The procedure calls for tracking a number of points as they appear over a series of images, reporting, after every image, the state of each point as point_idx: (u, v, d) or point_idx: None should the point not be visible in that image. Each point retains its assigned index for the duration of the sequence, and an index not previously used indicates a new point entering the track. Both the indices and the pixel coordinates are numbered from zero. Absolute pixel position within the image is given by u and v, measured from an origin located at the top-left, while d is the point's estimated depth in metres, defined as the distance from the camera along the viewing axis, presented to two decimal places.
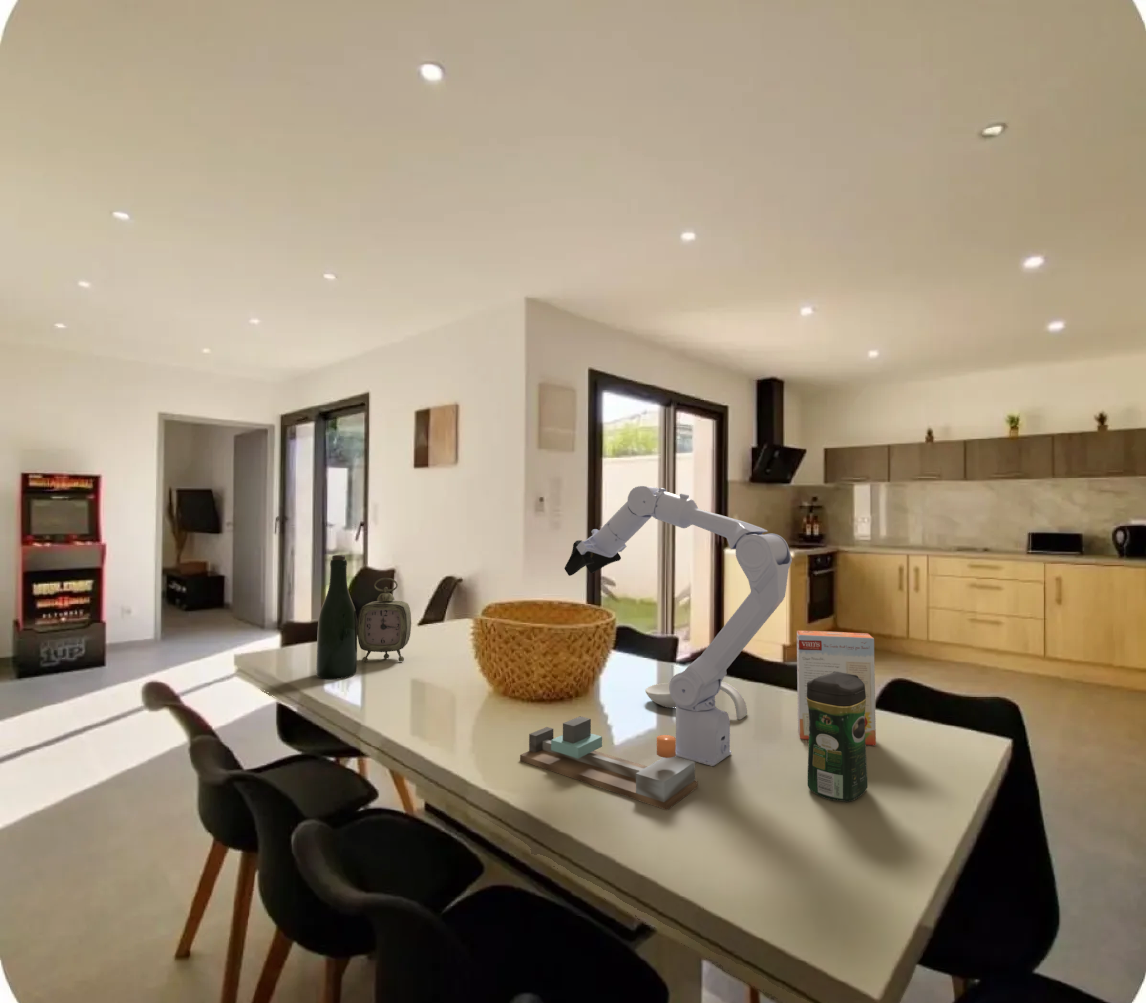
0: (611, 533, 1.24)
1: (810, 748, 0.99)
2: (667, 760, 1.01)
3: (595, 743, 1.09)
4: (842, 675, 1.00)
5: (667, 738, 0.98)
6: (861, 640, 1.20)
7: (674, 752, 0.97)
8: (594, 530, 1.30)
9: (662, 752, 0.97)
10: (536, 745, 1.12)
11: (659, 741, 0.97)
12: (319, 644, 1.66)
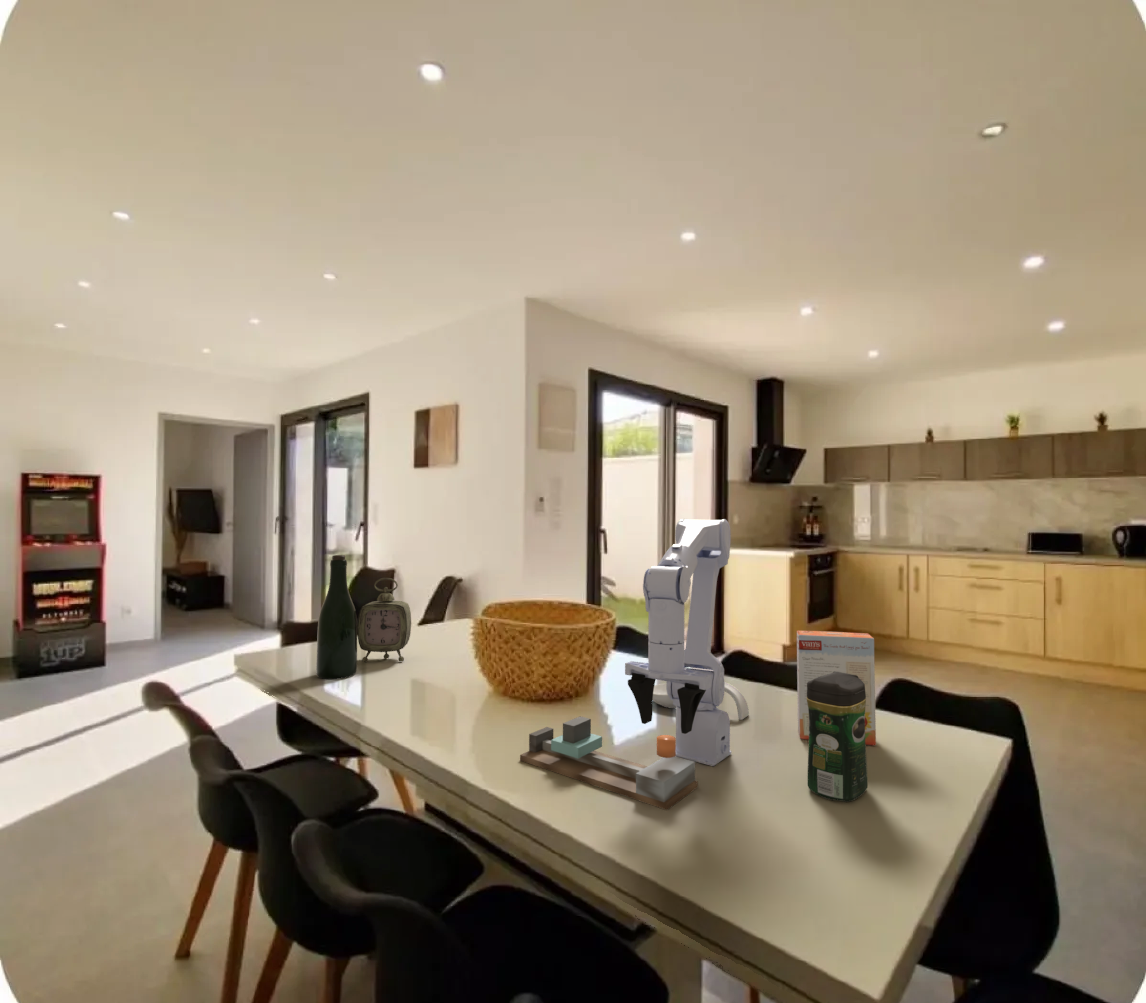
0: (683, 644, 0.97)
1: (810, 748, 0.99)
2: (667, 760, 1.01)
3: (595, 743, 1.09)
4: (842, 675, 1.00)
5: (667, 738, 0.98)
6: (861, 640, 1.20)
7: (674, 752, 0.97)
8: (657, 673, 0.95)
9: (662, 752, 0.97)
10: (536, 745, 1.12)
11: (659, 741, 0.97)
12: (319, 644, 1.66)
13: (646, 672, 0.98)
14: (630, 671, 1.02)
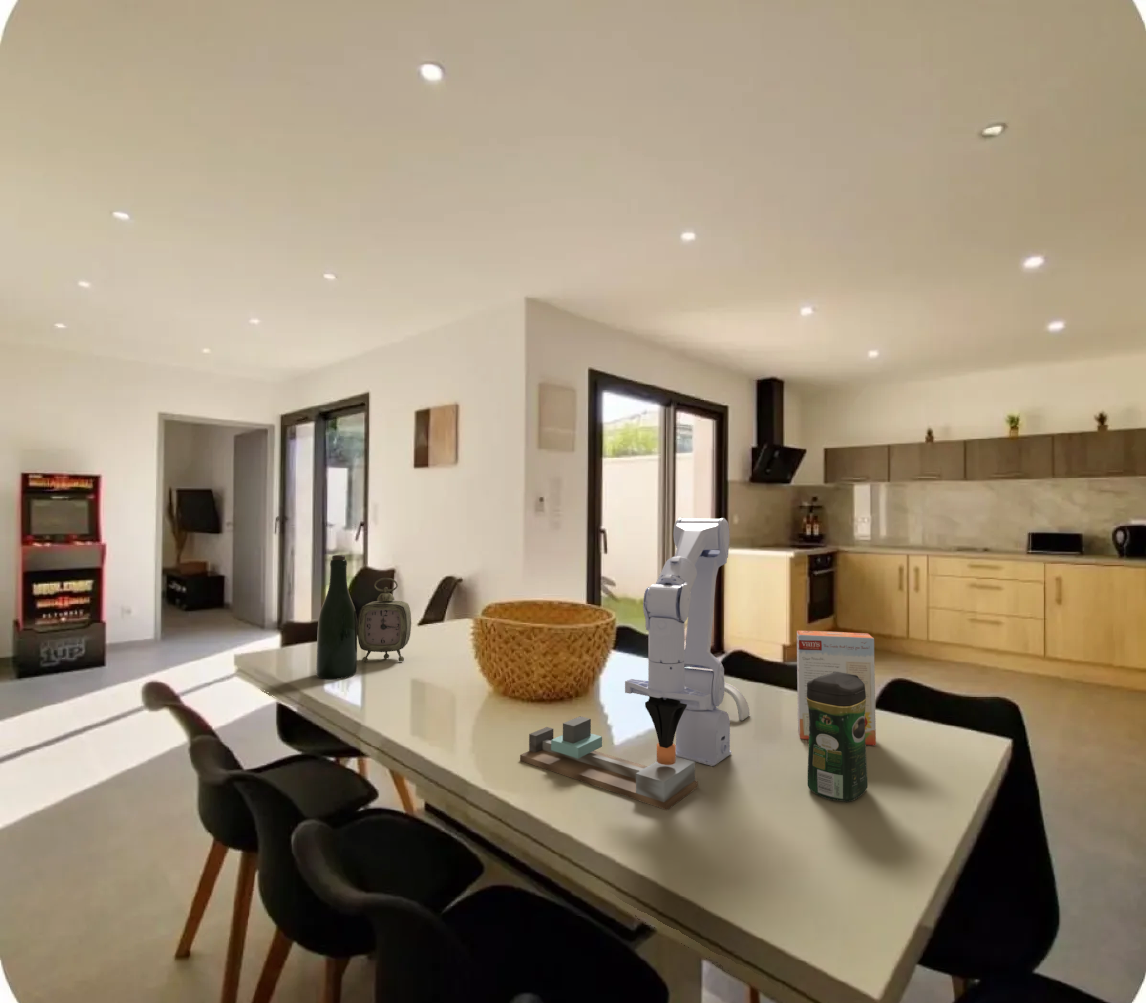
0: (683, 663, 0.97)
1: (810, 748, 0.99)
2: None
3: (595, 743, 1.09)
4: (842, 675, 1.00)
5: None
6: (861, 640, 1.20)
7: (674, 759, 0.97)
8: (657, 693, 0.95)
9: (662, 759, 0.97)
10: (536, 745, 1.12)
11: (659, 748, 0.97)
12: (319, 644, 1.66)
13: (646, 691, 0.98)
14: (630, 689, 1.02)
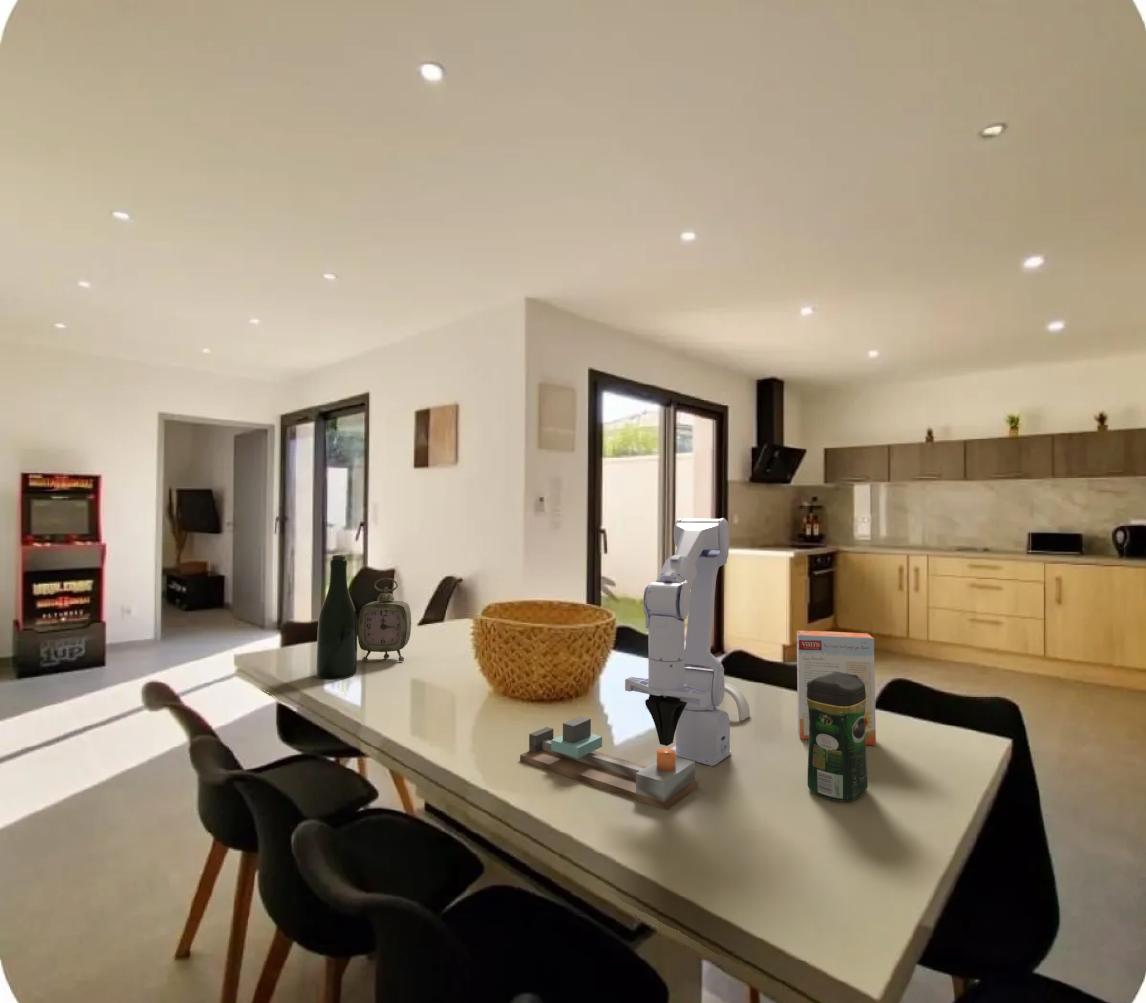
0: (683, 661, 0.97)
1: (810, 748, 0.99)
2: None
3: (595, 743, 1.09)
4: (842, 675, 1.00)
5: (667, 751, 0.98)
6: (861, 640, 1.20)
7: (674, 765, 0.97)
8: (657, 691, 0.95)
9: (662, 766, 0.97)
10: (536, 745, 1.12)
11: (659, 754, 0.97)
12: (319, 644, 1.66)
13: (646, 689, 0.98)
14: (630, 687, 1.02)
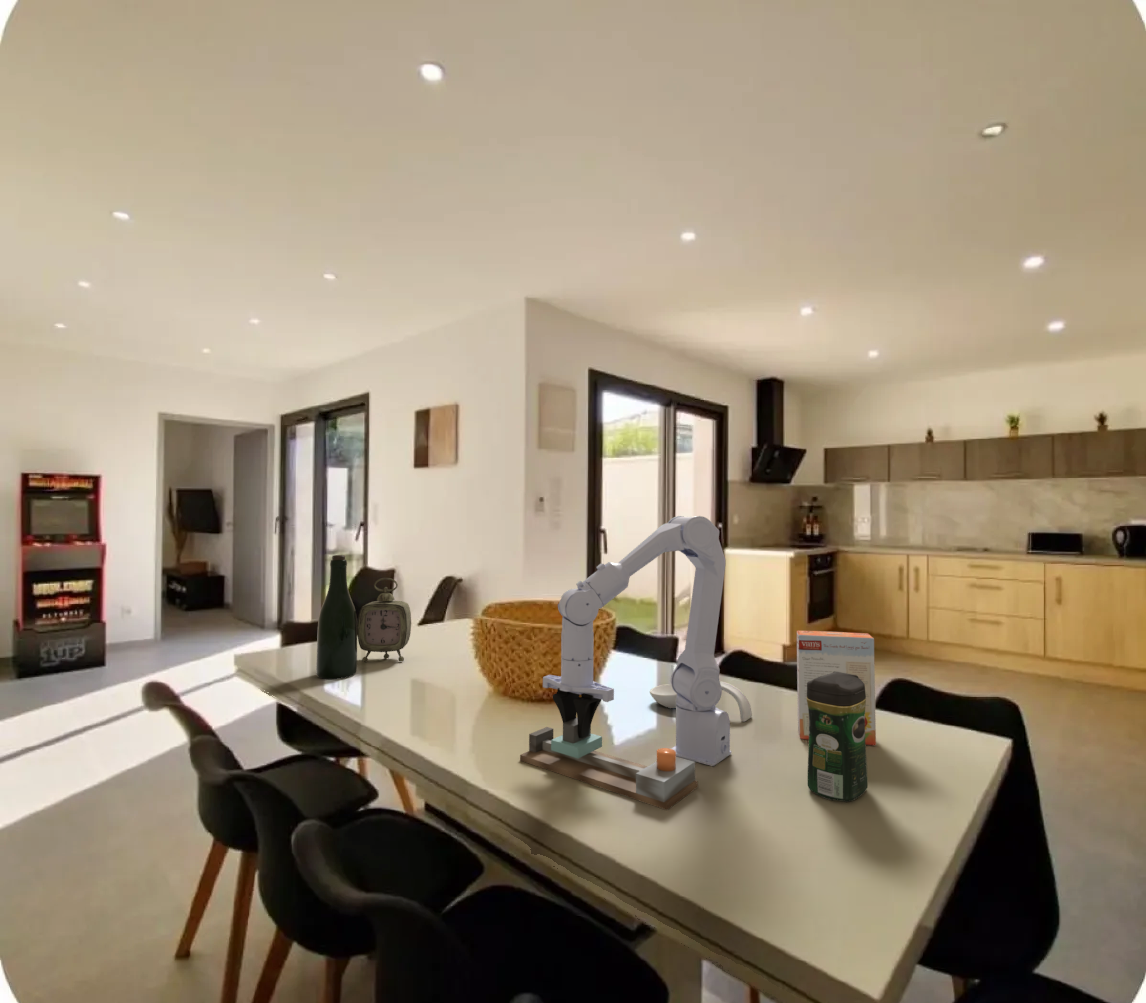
0: (591, 661, 1.08)
1: (810, 748, 0.99)
2: None
3: (595, 743, 1.09)
4: (842, 675, 1.00)
5: (667, 751, 0.98)
6: (861, 640, 1.20)
7: (674, 765, 0.97)
8: (566, 687, 1.06)
9: (662, 766, 0.97)
10: (536, 745, 1.12)
11: (659, 754, 0.97)
12: (319, 644, 1.66)
13: (558, 685, 1.09)
14: (547, 684, 1.13)
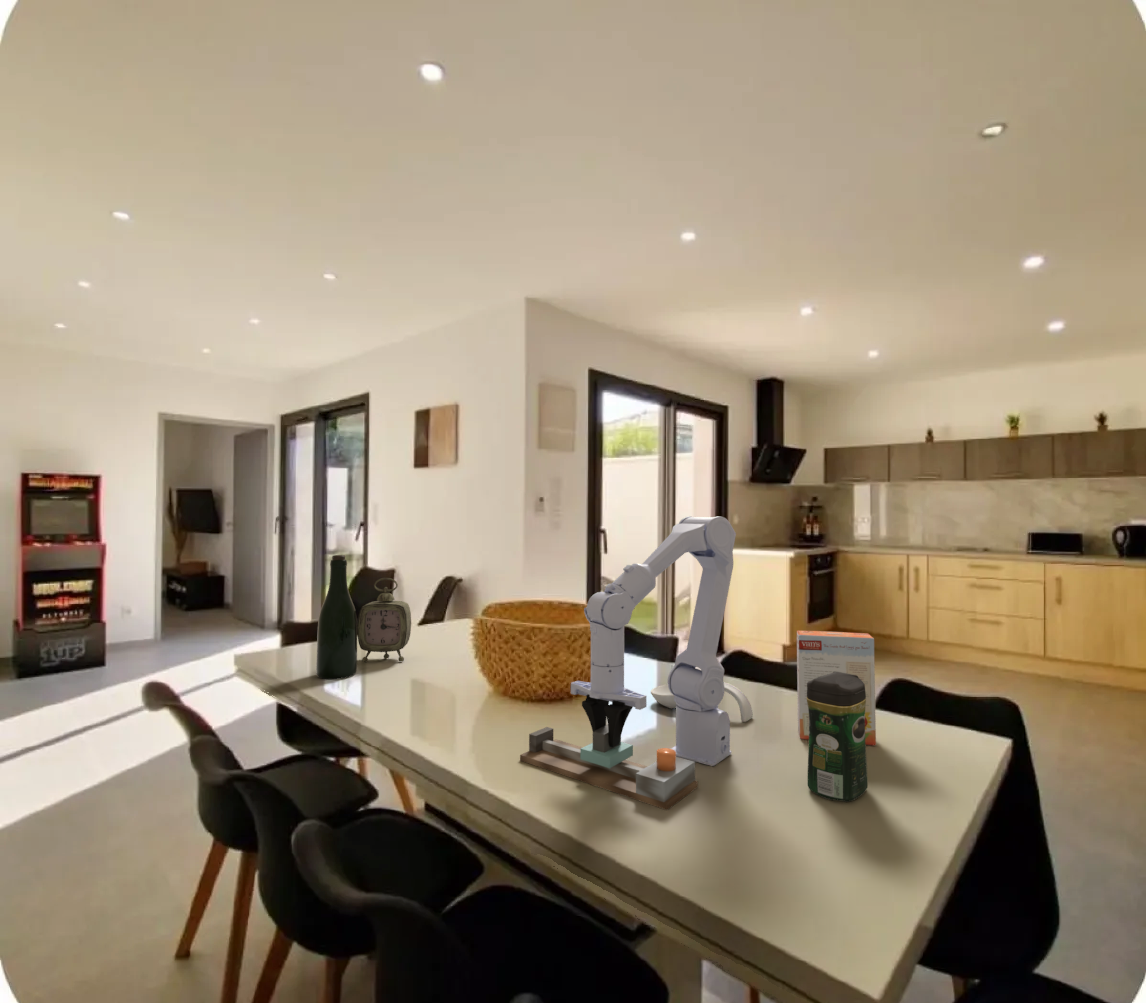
0: (622, 666, 1.04)
1: (810, 748, 0.99)
2: None
3: (626, 752, 1.05)
4: (842, 675, 1.00)
5: (667, 751, 0.98)
6: (861, 640, 1.20)
7: (674, 765, 0.97)
8: (597, 694, 1.02)
9: (662, 766, 0.97)
10: (536, 745, 1.12)
11: (659, 754, 0.97)
12: (319, 644, 1.66)
13: (588, 692, 1.05)
14: (575, 690, 1.09)
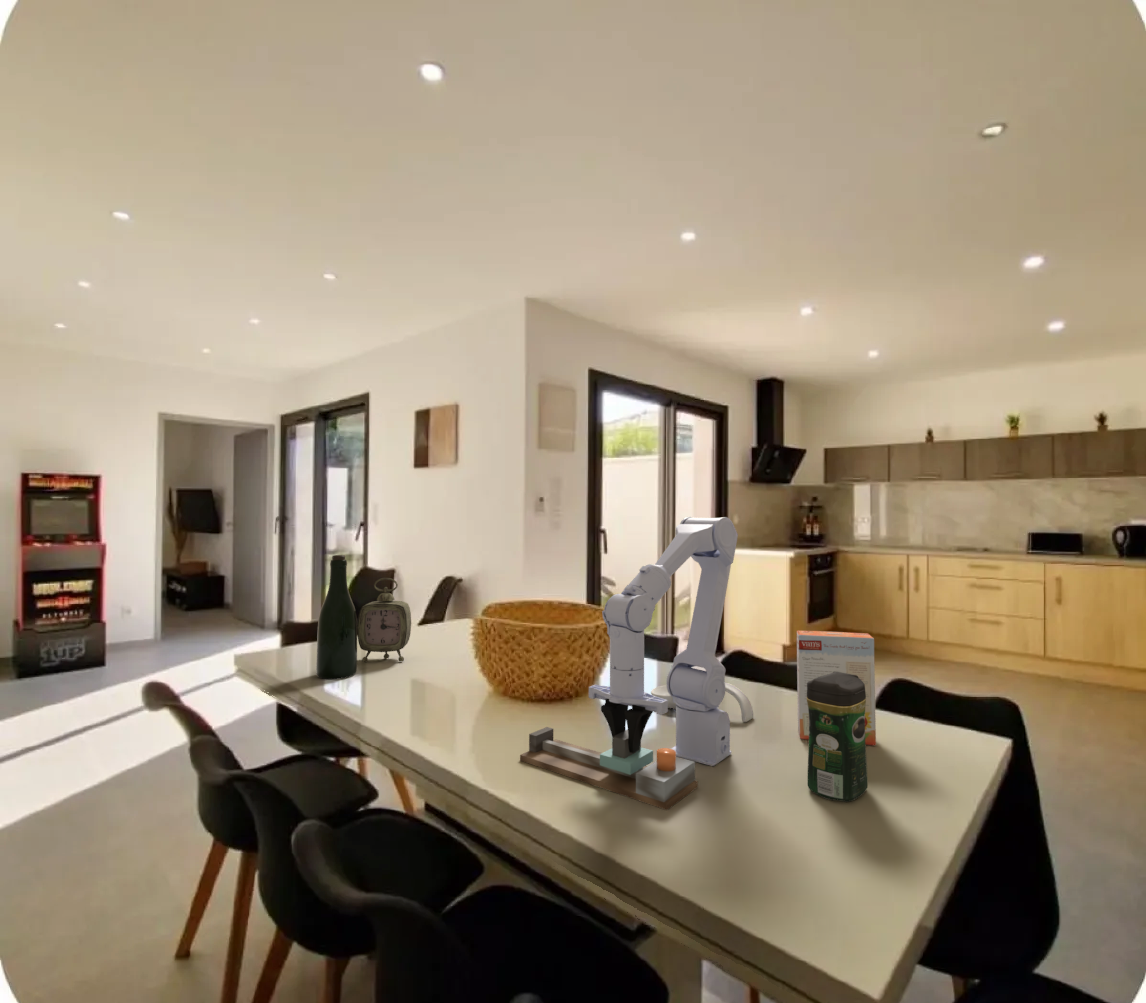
0: (642, 670, 1.02)
1: (810, 748, 0.99)
2: None
3: (647, 757, 1.02)
4: (842, 675, 1.00)
5: (667, 751, 0.98)
6: (861, 640, 1.20)
7: (674, 765, 0.97)
8: (617, 698, 1.00)
9: (662, 766, 0.97)
10: (536, 745, 1.12)
11: (659, 754, 0.97)
12: (319, 644, 1.66)
13: (607, 696, 1.03)
14: (593, 695, 1.06)
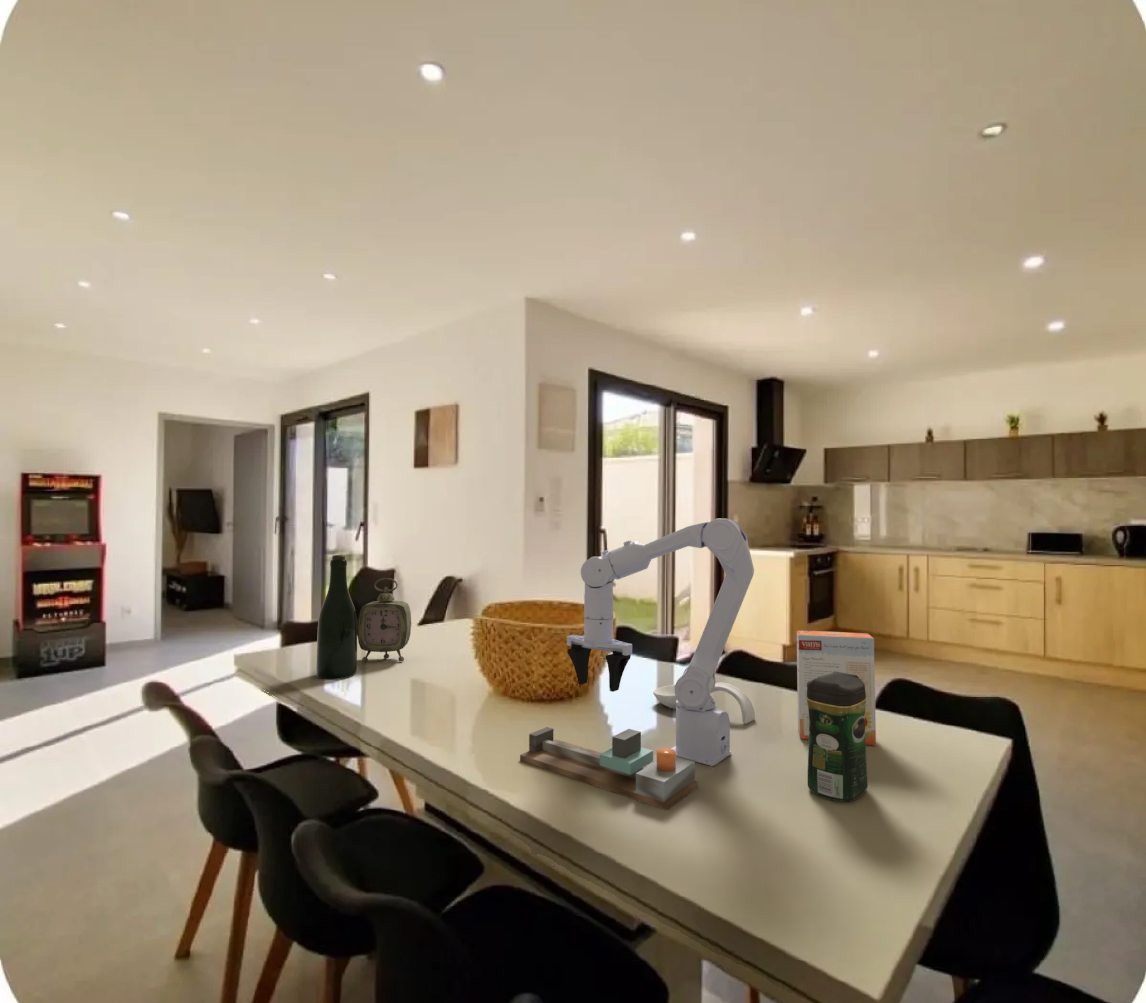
0: (611, 620, 1.20)
1: (810, 748, 0.99)
2: None
3: (647, 757, 1.02)
4: (842, 675, 1.00)
5: (667, 751, 0.98)
6: (861, 640, 1.20)
7: (674, 765, 0.97)
8: (589, 643, 1.18)
9: (662, 766, 0.97)
10: (536, 745, 1.12)
11: (659, 754, 0.97)
12: (319, 644, 1.66)
13: (582, 642, 1.21)
14: (571, 642, 1.25)
